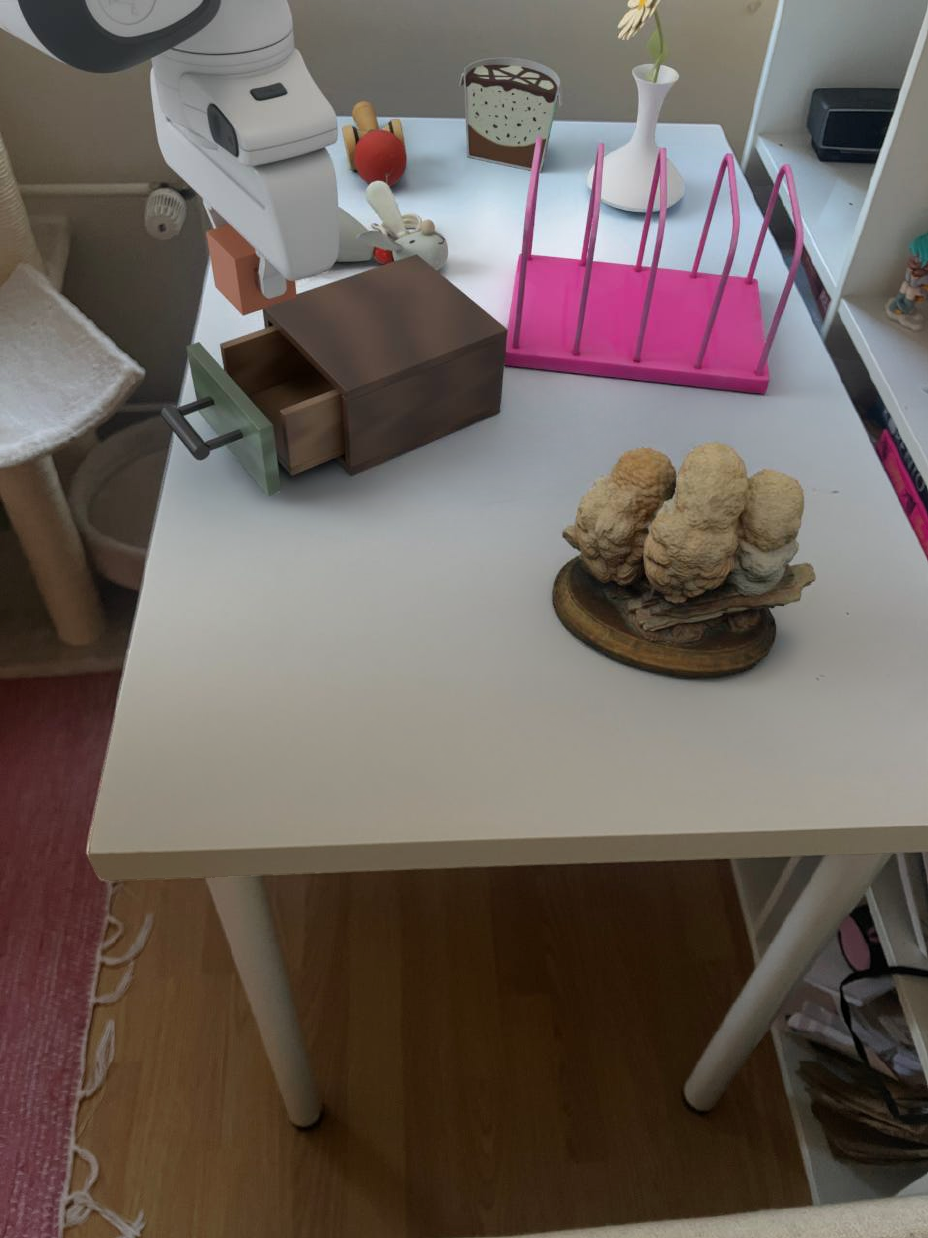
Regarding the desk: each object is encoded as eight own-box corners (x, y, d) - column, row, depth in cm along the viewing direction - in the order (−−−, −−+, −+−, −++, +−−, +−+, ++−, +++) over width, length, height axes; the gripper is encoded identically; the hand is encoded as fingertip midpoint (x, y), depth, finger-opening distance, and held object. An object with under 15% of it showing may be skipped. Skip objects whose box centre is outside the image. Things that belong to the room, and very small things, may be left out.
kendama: (328, 138, 126) (345, 189, 113) (333, 84, 122) (352, 130, 109) (388, 147, 128) (412, 198, 115) (396, 94, 124) (421, 140, 111)
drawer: (220, 516, 80) (207, 450, 74) (152, 429, 86) (136, 362, 81) (417, 433, 87) (418, 367, 82) (342, 359, 94) (338, 293, 88)
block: (242, 316, 73) (234, 259, 70) (215, 286, 76) (205, 230, 72) (297, 297, 75) (291, 241, 72) (268, 269, 77) (261, 214, 74)
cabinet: (351, 476, 85) (346, 391, 78) (272, 389, 92) (261, 305, 85) (500, 412, 91) (508, 329, 84) (415, 336, 98) (416, 253, 91)
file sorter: (517, 268, 107) (531, 117, 95) (753, 293, 106) (798, 144, 94) (502, 366, 96) (516, 210, 84) (765, 395, 95) (818, 241, 83)
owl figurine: (788, 586, 79) (865, 414, 66) (780, 704, 72) (865, 537, 59) (565, 537, 81) (596, 361, 68) (535, 647, 74) (563, 474, 61)
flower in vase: (603, 165, 122) (640, -75, 103) (693, 188, 120) (748, -54, 100) (565, 212, 115) (597, -37, 95) (660, 238, 112) (713, -13, 93)
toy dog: (453, 281, 104) (457, 198, 98) (273, 299, 101) (264, 214, 94) (427, 221, 112) (429, 140, 105) (259, 235, 108) (249, 152, 102)
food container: (566, 153, 124) (577, 67, 116) (552, 175, 120) (563, 87, 112) (472, 133, 126) (476, 47, 118) (455, 154, 122) (459, 67, 115)
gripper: (112, 27, 67) (152, 222, 78) (257, 152, 57) (281, 356, 68) (198, 10, 70) (226, 201, 80) (352, 127, 60) (361, 327, 70)
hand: (252, 273), depth 74 cm, fingers closed on block, 4 cm apart
